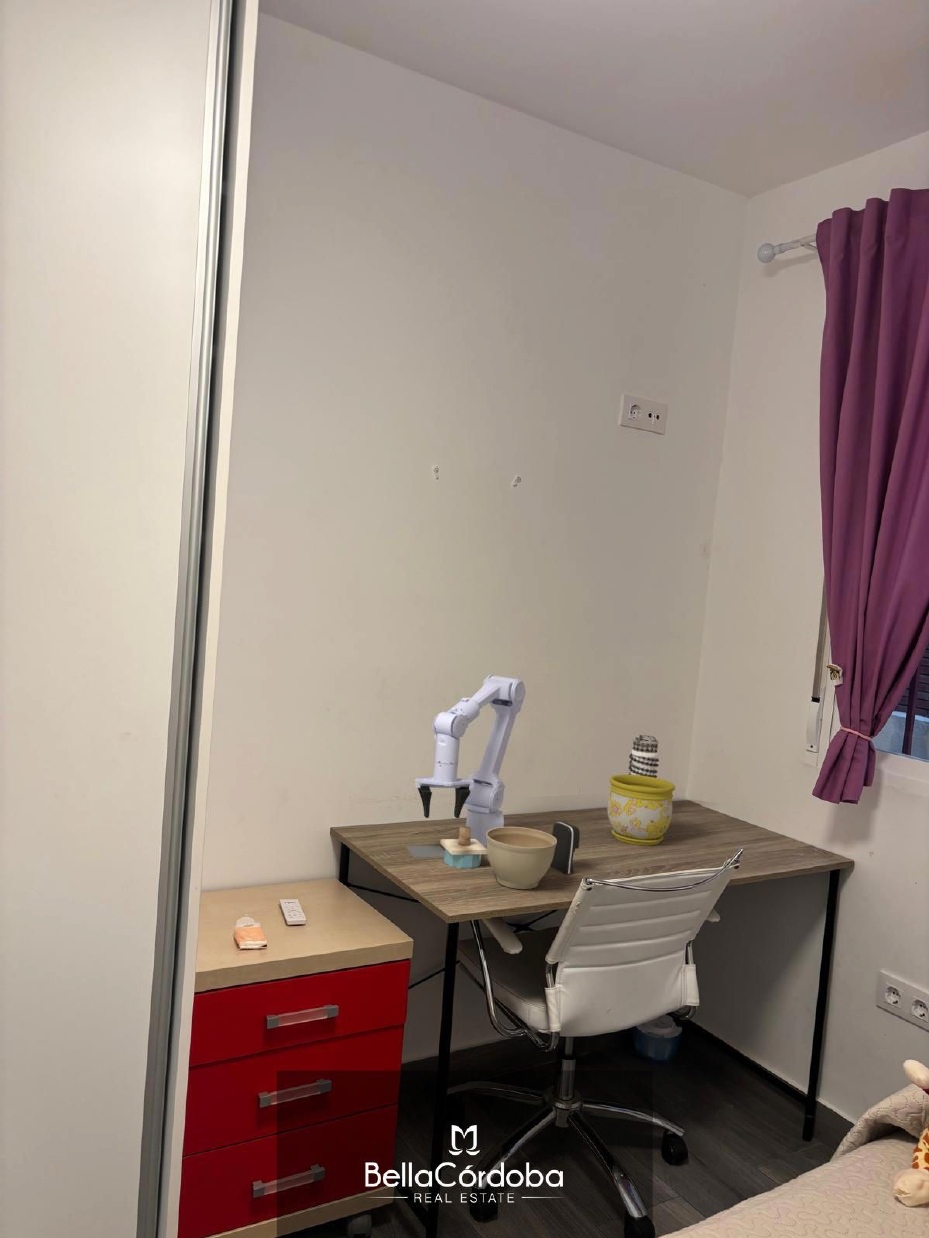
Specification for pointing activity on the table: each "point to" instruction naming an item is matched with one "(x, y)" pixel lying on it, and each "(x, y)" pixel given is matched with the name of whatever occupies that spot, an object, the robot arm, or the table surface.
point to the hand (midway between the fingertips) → (441, 816)
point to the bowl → (462, 860)
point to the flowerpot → (639, 808)
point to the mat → (426, 851)
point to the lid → (463, 843)
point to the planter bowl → (519, 855)
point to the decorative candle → (644, 756)
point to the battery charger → (565, 846)
